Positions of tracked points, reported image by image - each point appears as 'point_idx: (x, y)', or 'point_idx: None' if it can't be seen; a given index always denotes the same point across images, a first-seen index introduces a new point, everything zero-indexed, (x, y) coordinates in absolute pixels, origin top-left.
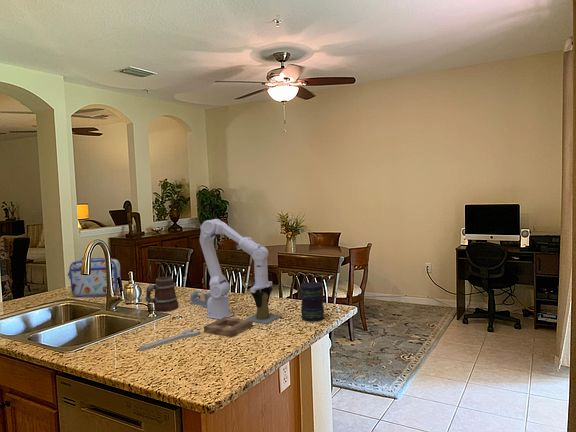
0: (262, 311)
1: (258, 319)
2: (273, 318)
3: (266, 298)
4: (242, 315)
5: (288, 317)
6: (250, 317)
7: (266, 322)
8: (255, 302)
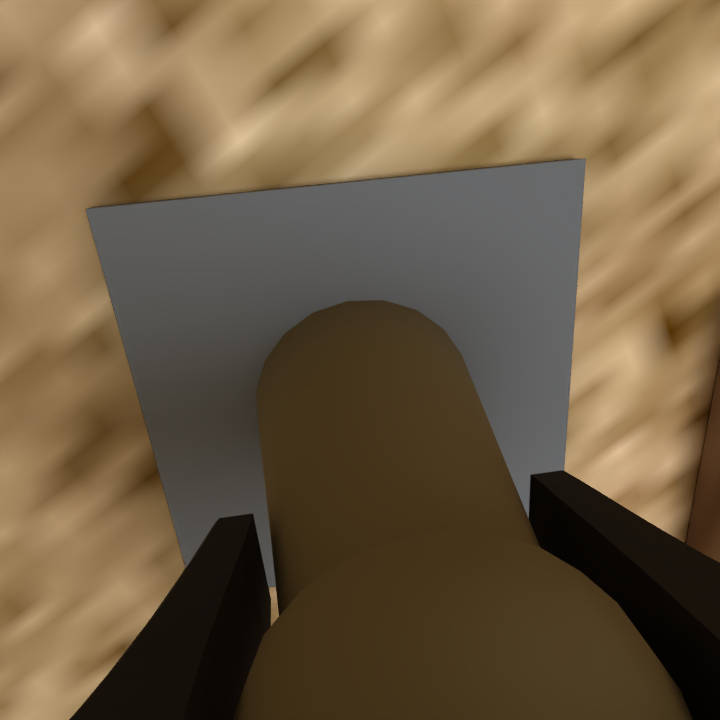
0: (478, 408)
1: None
2: (318, 225)
3: (485, 559)
4: None
5: (43, 39)
6: None
7: (556, 192)
8: None
